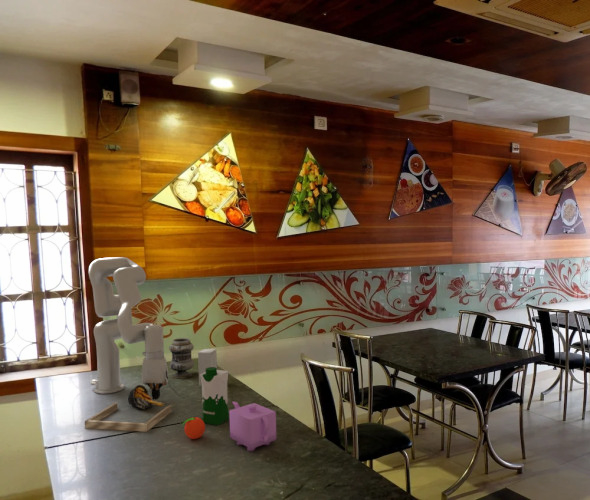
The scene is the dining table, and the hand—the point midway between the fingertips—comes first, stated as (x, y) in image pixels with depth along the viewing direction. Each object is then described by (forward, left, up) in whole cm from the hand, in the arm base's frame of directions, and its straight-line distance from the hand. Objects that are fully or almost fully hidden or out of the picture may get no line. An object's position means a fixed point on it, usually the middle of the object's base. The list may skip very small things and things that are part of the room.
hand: (156, 398), depth 200 cm
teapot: (+51, -33, -1) cm, 61 cm away
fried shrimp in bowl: (0, -8, -2) cm, 8 cm away
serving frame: (0, -20, -1) cm, 20 cm away
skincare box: (+13, +26, -1) cm, 29 cm away
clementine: (+31, -33, -1) cm, 45 cm away
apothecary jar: (-5, +37, -1) cm, 37 cm away
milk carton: (+33, -17, -1) cm, 37 cm away
